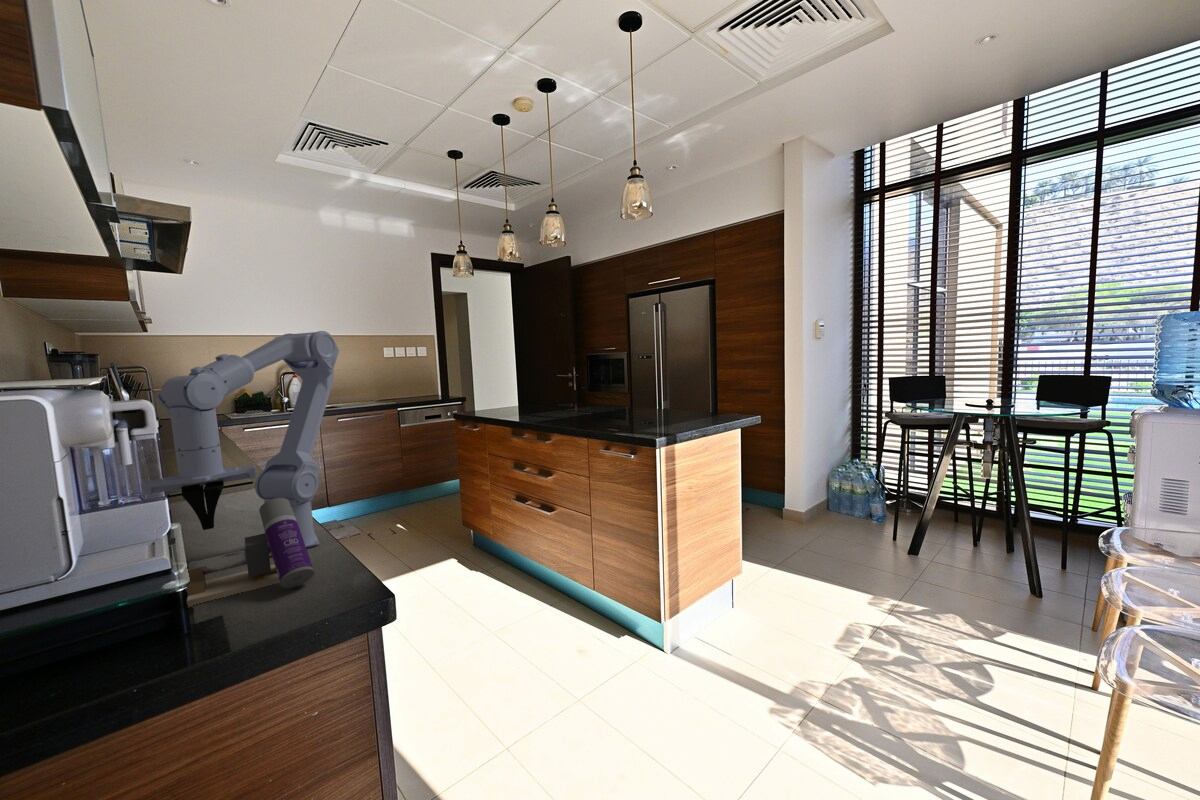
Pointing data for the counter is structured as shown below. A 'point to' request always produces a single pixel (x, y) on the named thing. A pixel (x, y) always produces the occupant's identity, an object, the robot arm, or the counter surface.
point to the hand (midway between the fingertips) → (208, 527)
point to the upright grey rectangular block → (257, 555)
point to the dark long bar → (222, 562)
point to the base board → (225, 584)
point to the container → (286, 543)
